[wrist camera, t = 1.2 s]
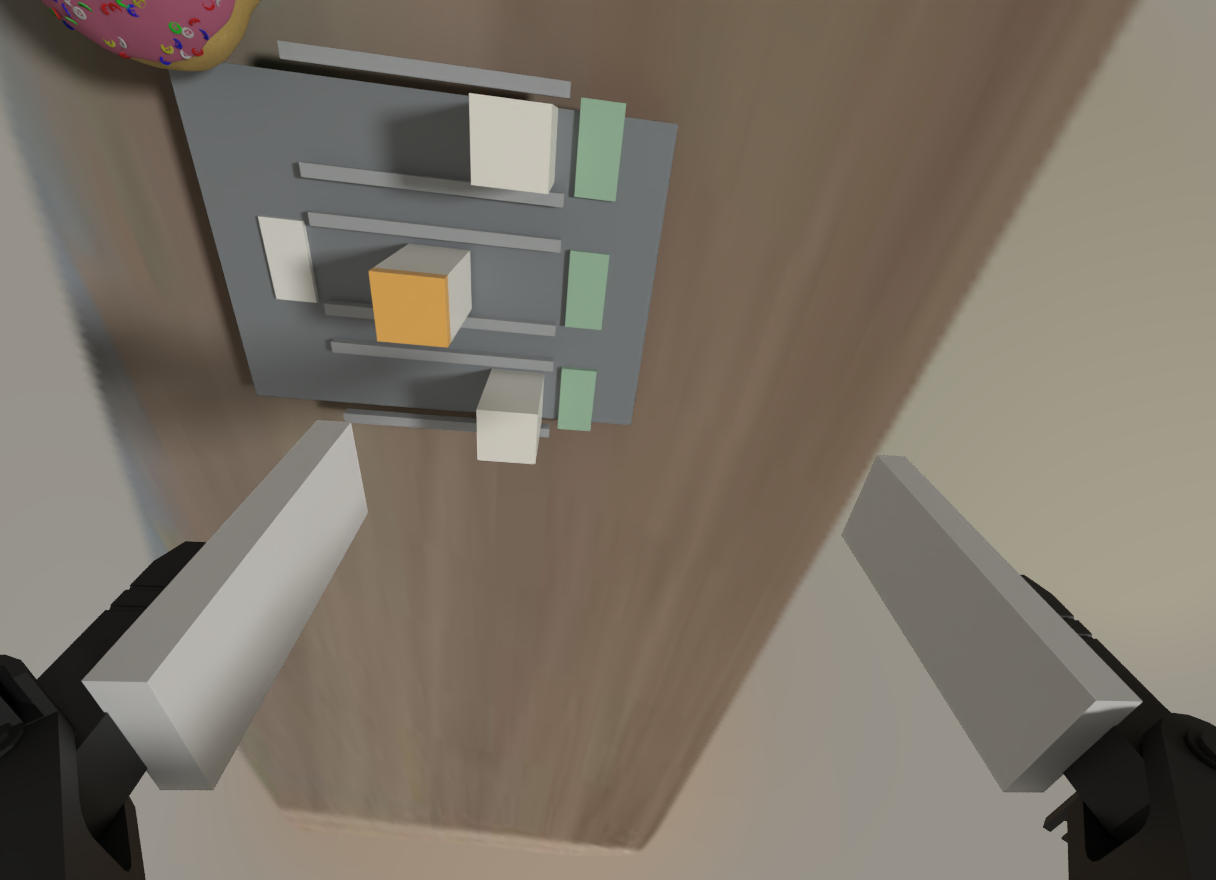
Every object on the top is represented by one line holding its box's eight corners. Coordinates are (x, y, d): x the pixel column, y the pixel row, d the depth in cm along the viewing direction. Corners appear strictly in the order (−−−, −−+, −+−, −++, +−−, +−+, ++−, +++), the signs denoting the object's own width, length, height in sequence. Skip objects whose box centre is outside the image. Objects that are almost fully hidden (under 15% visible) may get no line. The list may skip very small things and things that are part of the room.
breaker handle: (408, 243, 25) (368, 270, 21) (470, 250, 26) (444, 278, 21) (413, 302, 27) (377, 341, 22) (471, 308, 27) (447, 347, 22)
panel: (187, 31, 23) (46, -2, 17) (675, 100, 25) (704, 92, 19) (278, 395, 32) (208, 457, 26) (626, 422, 34) (635, 486, 28)
